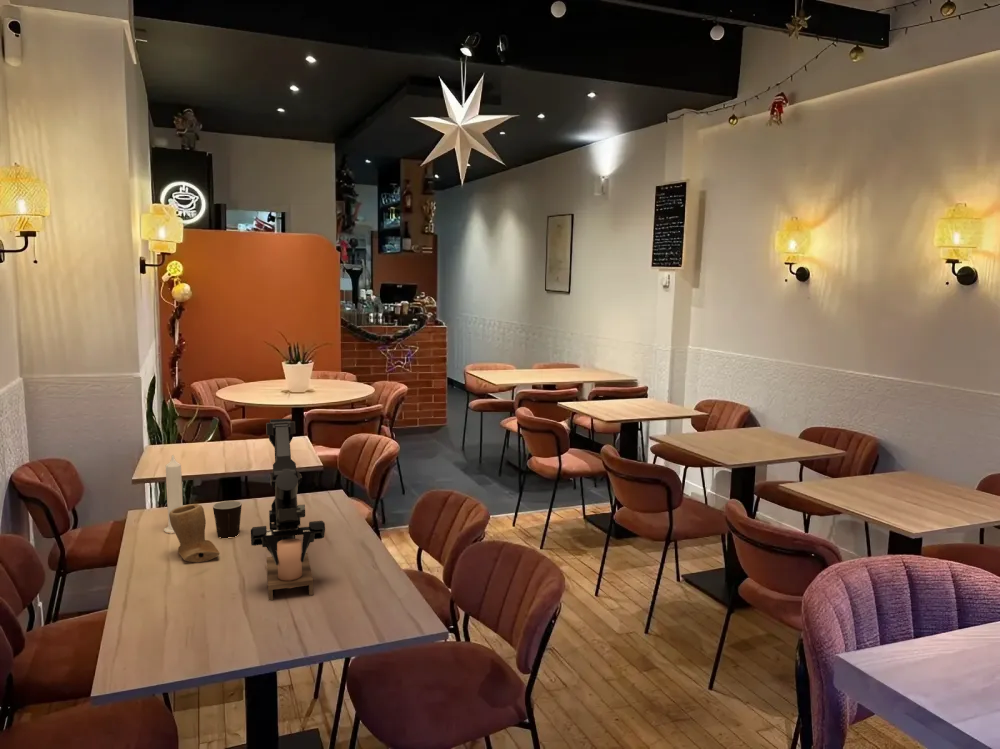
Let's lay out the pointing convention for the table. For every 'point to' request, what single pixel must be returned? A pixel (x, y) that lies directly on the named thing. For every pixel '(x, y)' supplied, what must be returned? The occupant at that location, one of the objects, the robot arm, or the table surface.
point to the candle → (173, 488)
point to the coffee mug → (227, 518)
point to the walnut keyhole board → (279, 584)
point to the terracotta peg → (289, 559)
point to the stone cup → (192, 533)
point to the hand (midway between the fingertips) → (289, 563)
